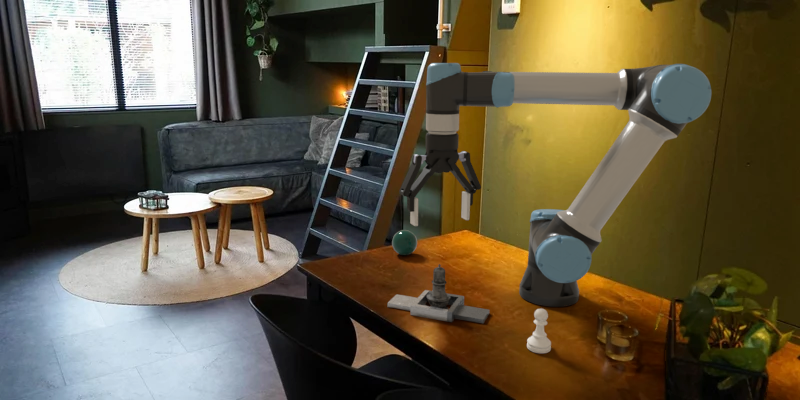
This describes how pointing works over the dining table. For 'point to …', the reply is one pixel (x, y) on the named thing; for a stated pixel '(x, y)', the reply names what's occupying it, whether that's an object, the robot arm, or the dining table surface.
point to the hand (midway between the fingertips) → (440, 221)
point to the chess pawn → (539, 334)
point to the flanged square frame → (436, 313)
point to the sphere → (404, 242)
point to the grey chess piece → (438, 290)
